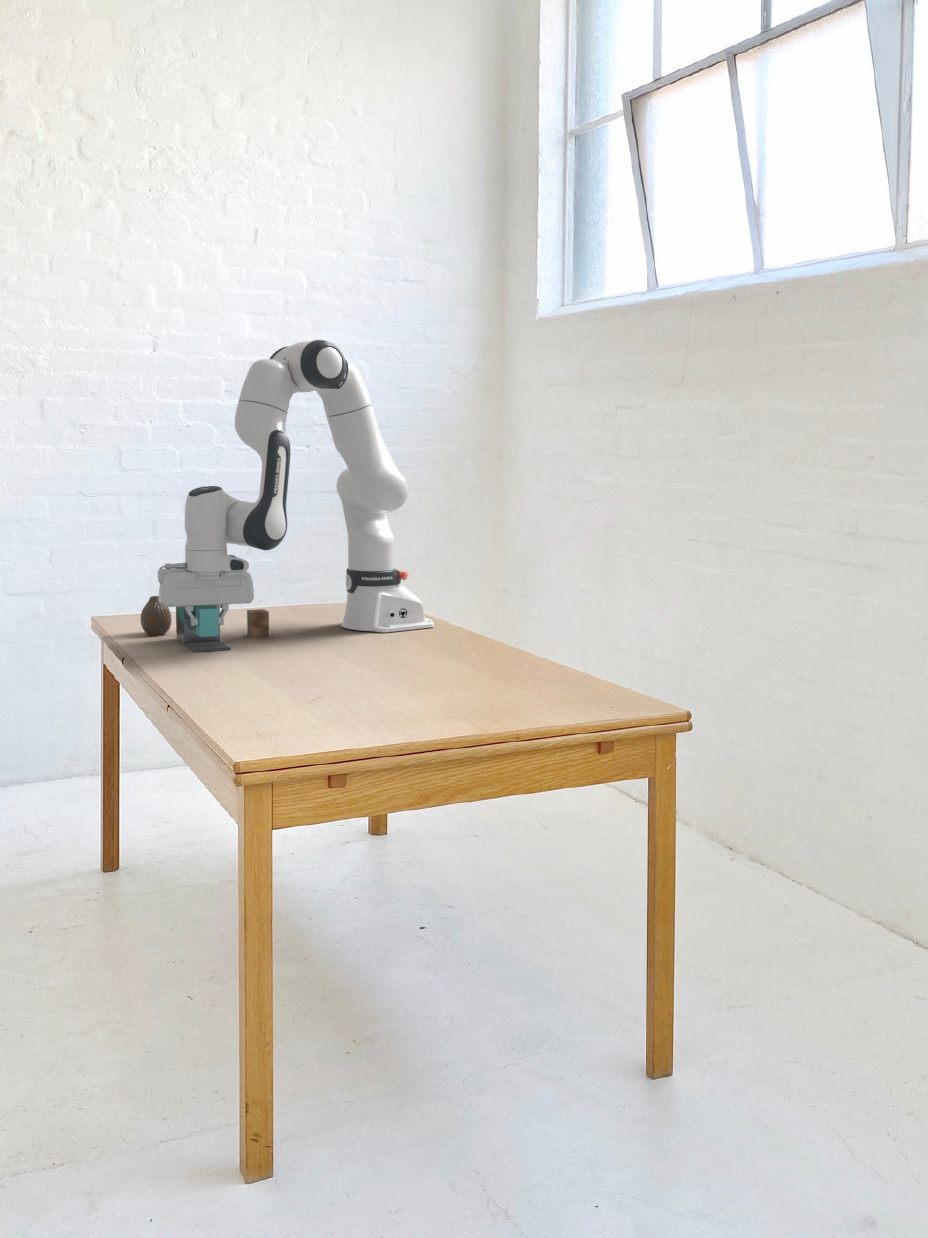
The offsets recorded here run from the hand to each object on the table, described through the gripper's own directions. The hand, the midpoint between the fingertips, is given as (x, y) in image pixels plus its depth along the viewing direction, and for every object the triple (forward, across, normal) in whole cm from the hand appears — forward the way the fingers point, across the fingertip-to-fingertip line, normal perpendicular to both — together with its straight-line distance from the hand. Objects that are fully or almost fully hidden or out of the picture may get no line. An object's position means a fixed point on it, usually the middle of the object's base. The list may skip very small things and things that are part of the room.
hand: (207, 625), depth 260 cm
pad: (+5, 0, 0) cm, 5 cm away
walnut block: (+5, +14, +10) cm, 18 cm away
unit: (+5, 0, +9) cm, 11 cm away
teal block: (+2, 0, 0) cm, 2 cm away
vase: (+5, -7, +21) cm, 23 cm away
